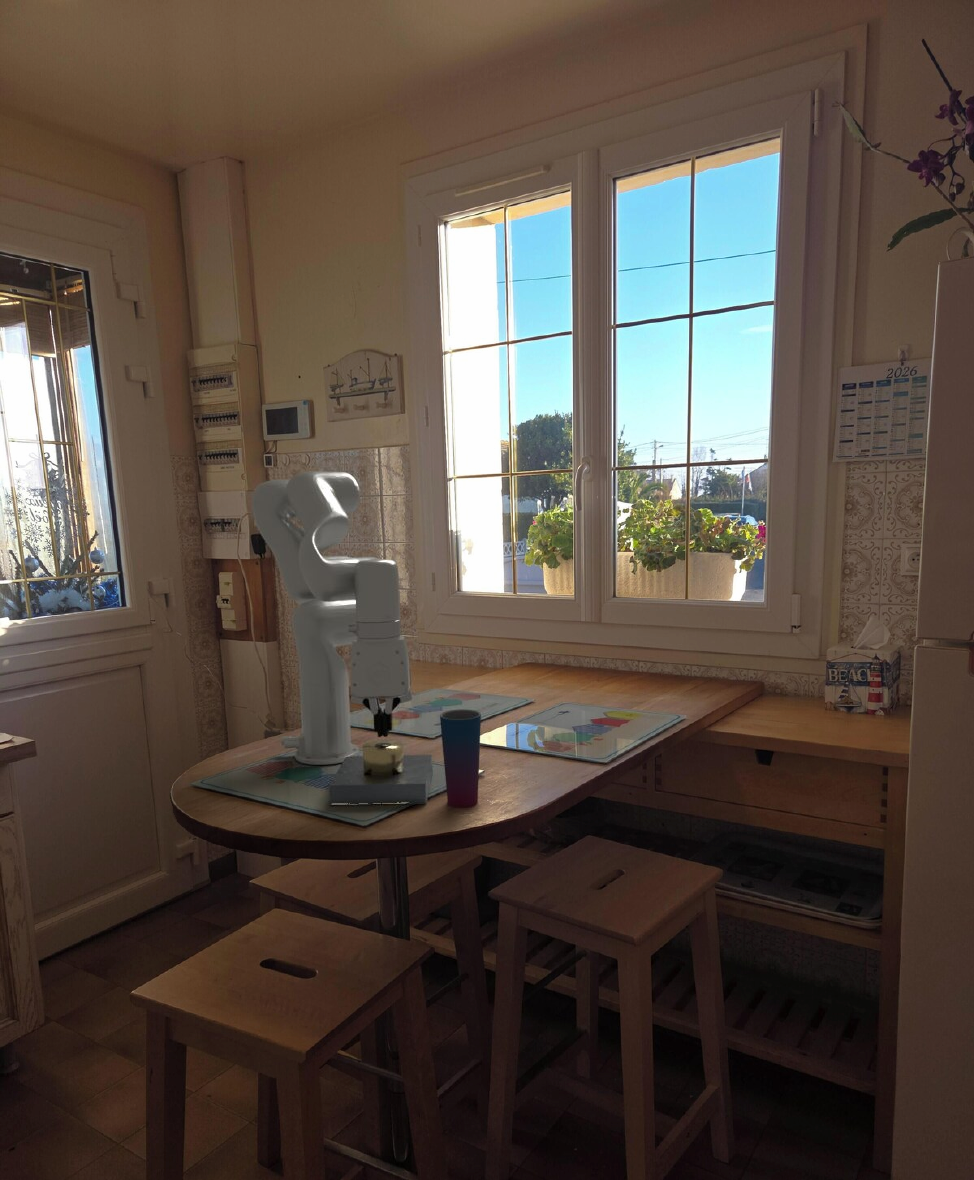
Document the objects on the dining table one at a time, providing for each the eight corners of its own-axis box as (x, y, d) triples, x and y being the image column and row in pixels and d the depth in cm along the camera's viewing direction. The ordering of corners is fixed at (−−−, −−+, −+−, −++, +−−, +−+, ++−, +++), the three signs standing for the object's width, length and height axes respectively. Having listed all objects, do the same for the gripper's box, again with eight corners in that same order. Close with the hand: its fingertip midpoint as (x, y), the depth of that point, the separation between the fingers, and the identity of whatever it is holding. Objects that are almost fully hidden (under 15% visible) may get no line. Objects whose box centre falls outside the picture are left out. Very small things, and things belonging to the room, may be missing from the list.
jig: (330, 805, 135) (329, 785, 134) (346, 774, 151) (346, 756, 150) (426, 803, 135) (425, 783, 134) (432, 773, 151) (432, 754, 150)
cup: (491, 801, 135) (489, 713, 134) (463, 812, 130) (461, 721, 129) (462, 792, 140) (459, 707, 139) (433, 803, 135) (431, 715, 134)
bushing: (361, 794, 139) (359, 751, 138) (367, 780, 146) (365, 739, 145) (402, 793, 139) (400, 750, 138) (406, 780, 146) (404, 738, 145)
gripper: (331, 635, 136) (336, 742, 138) (420, 632, 136) (424, 739, 138) (339, 629, 144) (344, 730, 145) (423, 626, 144) (427, 728, 145)
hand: (383, 734), depth 141 cm, fingers closed
